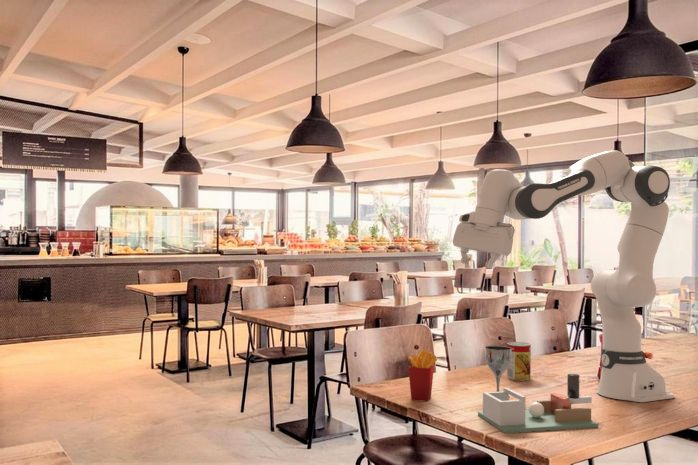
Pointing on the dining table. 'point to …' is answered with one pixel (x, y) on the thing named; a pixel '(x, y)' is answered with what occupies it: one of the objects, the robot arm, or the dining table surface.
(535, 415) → the ball
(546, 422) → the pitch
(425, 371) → the french fries
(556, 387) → the dining table surface
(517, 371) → the canned food
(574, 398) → the kicker
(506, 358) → the wine glass
